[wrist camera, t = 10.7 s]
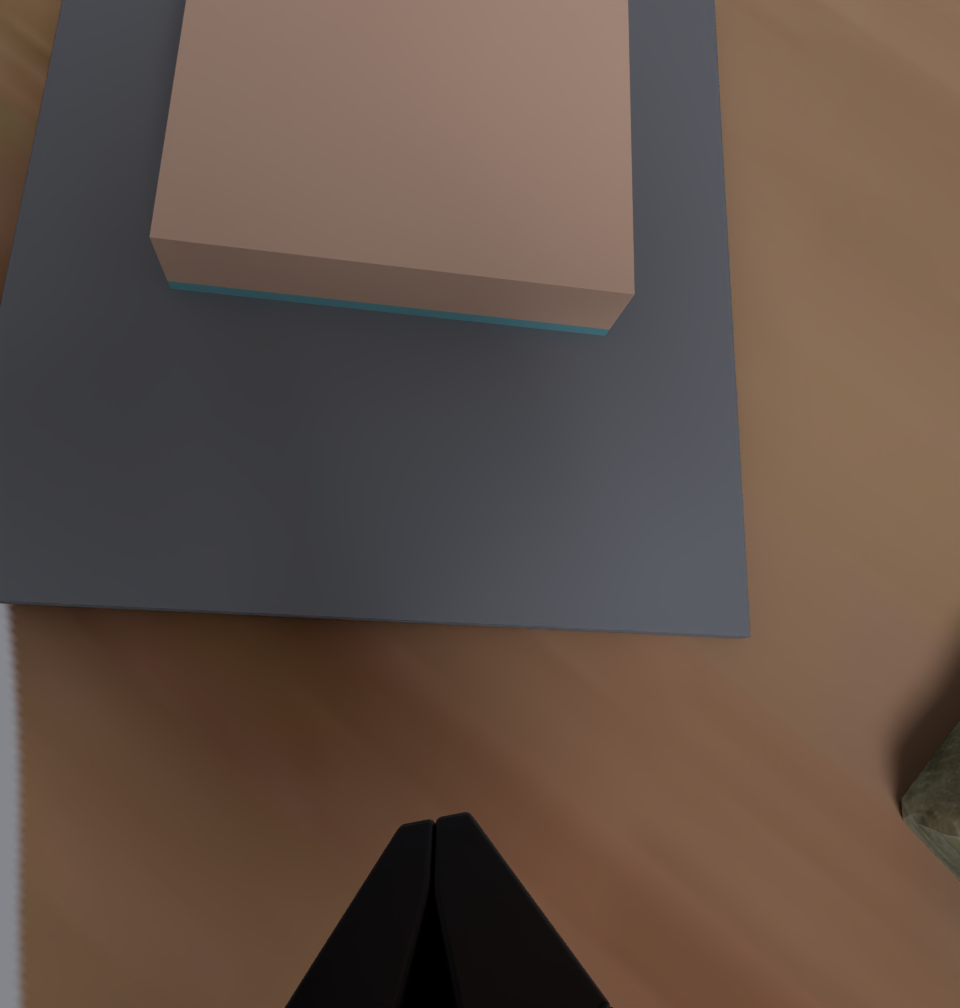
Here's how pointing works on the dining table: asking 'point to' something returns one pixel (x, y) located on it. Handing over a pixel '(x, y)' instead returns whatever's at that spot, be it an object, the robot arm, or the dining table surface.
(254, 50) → the tile
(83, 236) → the mat
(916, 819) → the decorative tile
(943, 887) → the dining table surface
